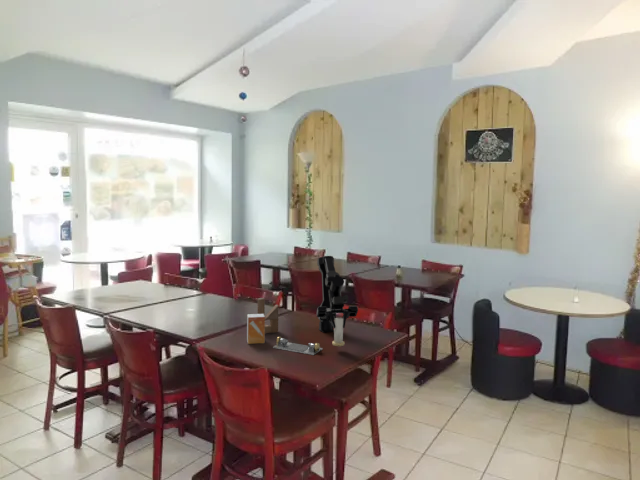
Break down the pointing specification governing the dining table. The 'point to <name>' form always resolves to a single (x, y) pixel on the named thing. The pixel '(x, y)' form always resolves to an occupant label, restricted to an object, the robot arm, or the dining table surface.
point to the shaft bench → (297, 347)
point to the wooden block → (269, 316)
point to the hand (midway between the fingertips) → (339, 327)
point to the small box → (255, 328)
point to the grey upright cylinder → (338, 332)
